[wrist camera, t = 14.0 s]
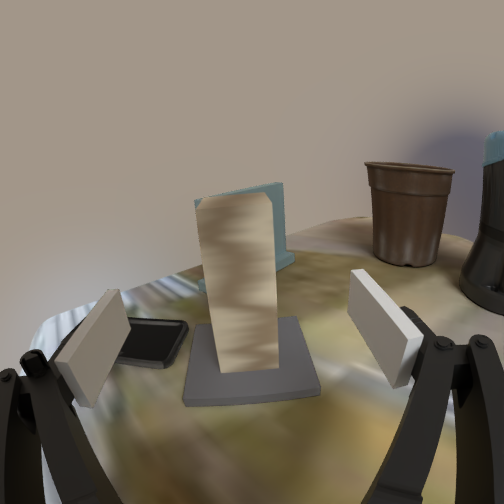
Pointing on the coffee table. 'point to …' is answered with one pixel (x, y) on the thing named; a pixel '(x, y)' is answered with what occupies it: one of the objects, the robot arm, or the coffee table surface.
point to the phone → (151, 342)
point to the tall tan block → (240, 279)
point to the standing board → (277, 199)
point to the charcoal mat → (250, 372)
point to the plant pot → (408, 211)
